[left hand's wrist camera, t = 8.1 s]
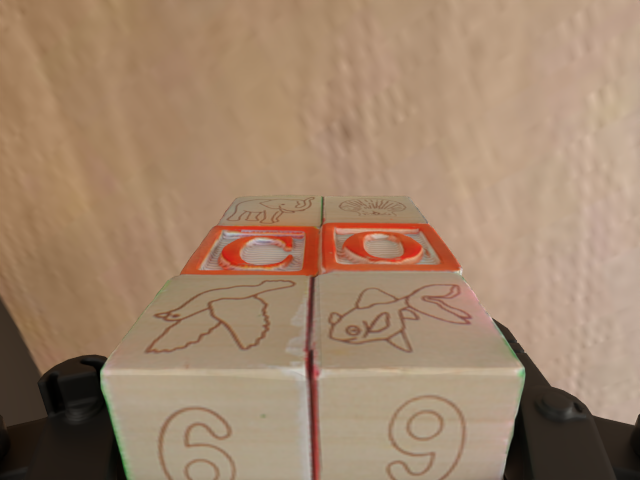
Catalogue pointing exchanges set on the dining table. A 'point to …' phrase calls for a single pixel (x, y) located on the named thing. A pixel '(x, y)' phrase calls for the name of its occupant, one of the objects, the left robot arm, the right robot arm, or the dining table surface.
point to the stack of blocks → (315, 354)
